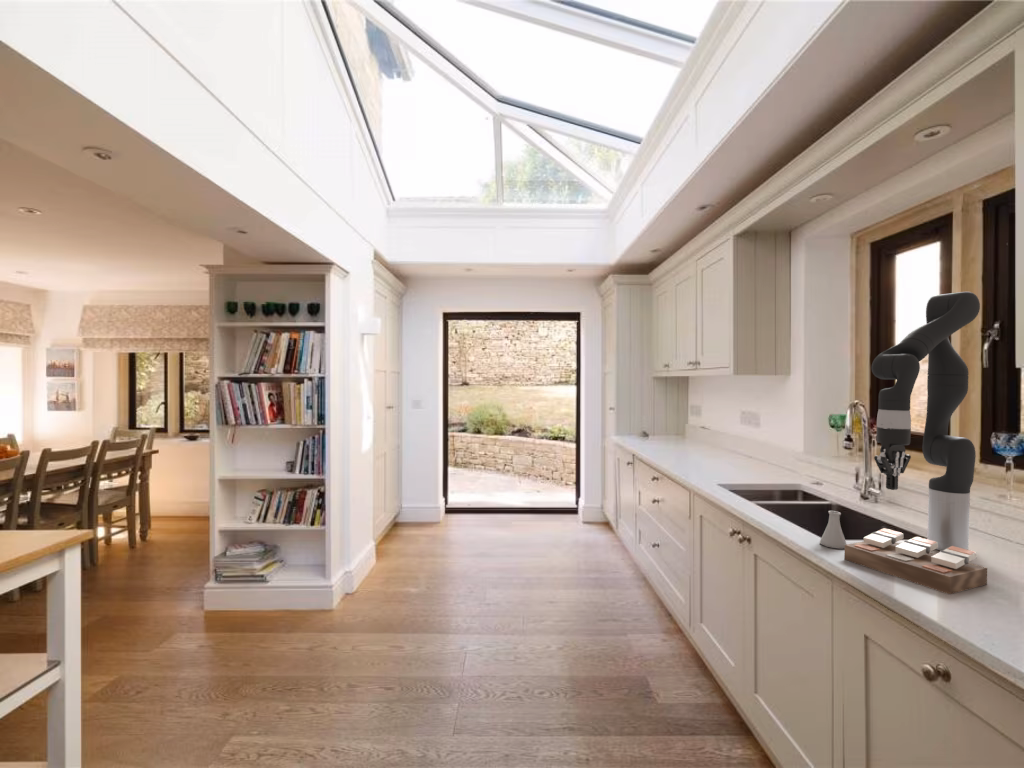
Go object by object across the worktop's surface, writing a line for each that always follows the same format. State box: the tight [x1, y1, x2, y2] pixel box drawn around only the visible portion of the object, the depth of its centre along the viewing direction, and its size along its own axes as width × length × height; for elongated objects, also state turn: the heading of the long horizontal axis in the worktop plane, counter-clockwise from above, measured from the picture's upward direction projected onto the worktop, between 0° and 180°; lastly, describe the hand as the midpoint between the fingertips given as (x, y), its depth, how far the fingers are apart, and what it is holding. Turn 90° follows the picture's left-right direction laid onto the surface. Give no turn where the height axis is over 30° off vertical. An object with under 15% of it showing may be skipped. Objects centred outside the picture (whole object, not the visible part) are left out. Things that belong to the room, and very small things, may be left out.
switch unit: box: [844, 541, 988, 595], centre depth 130 cm, size 16×24×4 cm, turn 24°
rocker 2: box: [895, 536, 938, 558], centre depth 131 cm, size 9×5×2 cm, turn 114°
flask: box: [819, 510, 848, 550], centre depth 150 cm, size 7×7×10 cm
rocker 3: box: [931, 546, 977, 569], centre depth 123 cm, size 9×5×2 cm, turn 114°
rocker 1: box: [863, 527, 904, 548], centre depth 138 cm, size 9×5×2 cm, turn 114°
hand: (891, 489), depth 139 cm, fingers closed
